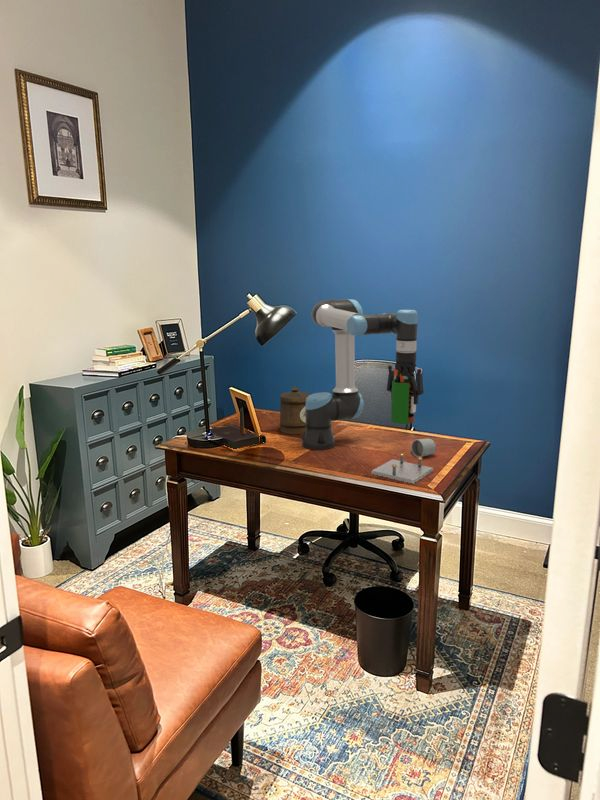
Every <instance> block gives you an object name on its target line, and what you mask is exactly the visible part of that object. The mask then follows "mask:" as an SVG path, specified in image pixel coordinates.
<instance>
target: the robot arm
mask: <svg viewBox="0 0 600 800" xmlns="http://www.w3.org/2000/svg"><path fill="white" fill-rule="evenodd" d="M311 319H312V321H313V323H314V324H315V325H317V326H318V327H322V328H328V327H329V328H330V327H331V331H332V332H333V333H334V334H335V335H334V336H335V337H334V343H335V346H334V347H335V348H334V349H335V355H334V356H335V387H334V388H333V389H332V393H330V392H329V391H328V392H326V391H322V392H315V393H312V394H310V395H309V396H308V397H307V398H306V404H305V413H306V429H305V432H304V434H302V438H301V446H302V447H304V448H305V449H310V450H319V451H320V450H327V449H329V450H330V449H331V448H334V447H335V446H336V439H335V436H334V432H333V430H332V422H335V421H344V420H351V419H356V418H358V417H360V415H361V414H362V412H363V410H364V402H365V401H364V399H363V395H362V394H361V393H360V392H359V389H358V388H357V387H356V382H355V381H356V376H355V374H356V371H355V370H356V367H355V365H356V363H355V362H356V360H355V358H356V357H355V355H356V354H355V353H356V352H355V345H356V344H355V336H367V335H382V334H393V335H396V337H395V338H396V339H395V342H396V343H395V344H396V345H395V350H396V353H395V364H392V365H388V367H387V368H388V377H387V384H386V391H387V392H390V395H391V396H390V399H391V402H392V380H394V379H395V382H397V383H400V374H401V375H402V376H403V377H406V379H409V382H410V386H411V389H412V392H413V395H412V396H411V414H414V413H416V412H417V405H418V404H419V396H421V395H424V382H423V381H424V380H423V373H424V368H422V367H421V368H419V367H418V366H417V365H416V363H417V352H416V351H417V342H418V341H417V340H418V339H417V337H418V323H419V320H418V312H417V310H415V309H399V310H397V313H392V312H384V313H378V314H377V313H376V314H364V313H363V308H362V305H361V304H360V302H359V301H357V300H356V299H352V298H351V299H349V298H345V299H344V298H343V299H325V300H324V299H323V300H321V301H318V302H317V303H316V304H315V305H314V306H313V308H312V309H311ZM394 370H398V372H397V376H394ZM414 372H415V373H414ZM415 374H416V376H415ZM415 377H416V379H415Z"/></svg>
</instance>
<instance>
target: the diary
mask: <svg viewBox="0 0 600 800" xmlns="http://www.w3.org/2000/svg"><path fill="white" fill-rule="evenodd" d="M240 427H241V426H239V425H236V424H231V425H230V424H229V425H223V426H222V425H221V426H218V427H211V428H209V429H210V430H211V432H212V434H214V435H216V436H219V437H222V438H223V440H222V441H223V444H224V445H225V446H227V447H230V448H233V449H237V448H240V447H243V446H248V445H253V444H258V443H259V437H260V443H261V444H264V443H265V444H266V443H267V438H266V435H265V434H261V433H260V434H261V435H260V436H258V435H256V434H253V433H248V432H247V433H246V434H245V435H244V436H241V435H240ZM205 430H206V429H204V432H205ZM262 442H264V443H262Z"/></svg>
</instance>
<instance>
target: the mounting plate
mask: <svg viewBox="0 0 600 800" xmlns="http://www.w3.org/2000/svg"><path fill="white" fill-rule="evenodd" d="M399 456H400V457H399V458H400V459H399V460H398V459H390V460H389V461H387V462H384V463H383V464H381V465H380V466H377V467H375V468H374V469H372V470H371V475H373V474H374V475H373V476H377V475H378V476H377V477H381V476H383V477H382V478H386V477H388V478H387V479H390V478H391V479H392V480H394V479H395V480H394V481H400V482H403V481H404V483H407V482H408V483H407V484H411V483H412V485H414V484H416V483H417V482H418V481H421V480H423V478H426V476H428V475H429V474H431V473H433V472H434V467H431V466H426V465H422V463H423V462H422V460H423V457H417V460H418V464H416V463H411V462H407V461H404V457H405V453H401V452H400V453H399ZM415 482H416V483H415Z"/></svg>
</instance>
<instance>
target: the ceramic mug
mask: <svg viewBox="0 0 600 800" xmlns="http://www.w3.org/2000/svg"><path fill="white" fill-rule="evenodd" d="M436 451H437V445H436V442H435V440H433V439H432V438H420V439H418V438H417V439H414V440H413V441H412V443H411V448H410V452H411V453H412V455H414V456H415V457H416V458H418V457H422V458H424V457H428V456H429V457H430V456H431V455H434V454H435V453H436Z"/></svg>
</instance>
